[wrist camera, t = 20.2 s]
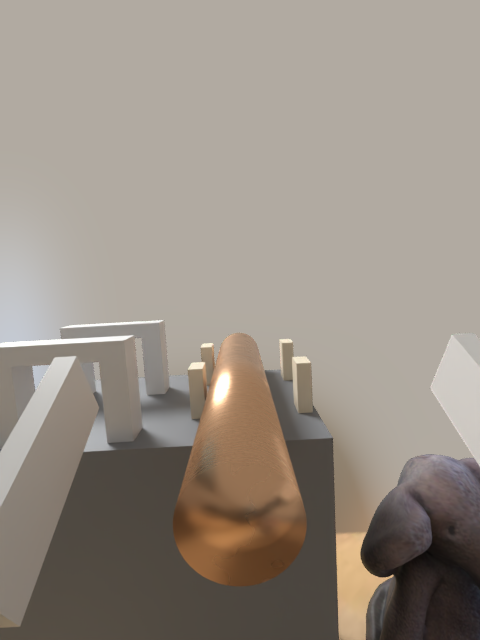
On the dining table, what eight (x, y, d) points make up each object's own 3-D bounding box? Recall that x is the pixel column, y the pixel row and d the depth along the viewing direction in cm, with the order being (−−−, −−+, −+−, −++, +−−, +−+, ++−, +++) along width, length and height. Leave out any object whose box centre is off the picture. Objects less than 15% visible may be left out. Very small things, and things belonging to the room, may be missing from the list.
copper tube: (317, 573, 11) (293, 450, 10) (187, 596, 11) (159, 475, 10) (261, 366, 36) (254, 329, 36) (223, 373, 36) (216, 336, 36)
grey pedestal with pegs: (28, 858, 23) (-47, 352, 19) (114, 623, 39) (82, 321, 35) (344, 841, 23) (329, 331, 19) (301, 613, 39) (288, 309, 35)
